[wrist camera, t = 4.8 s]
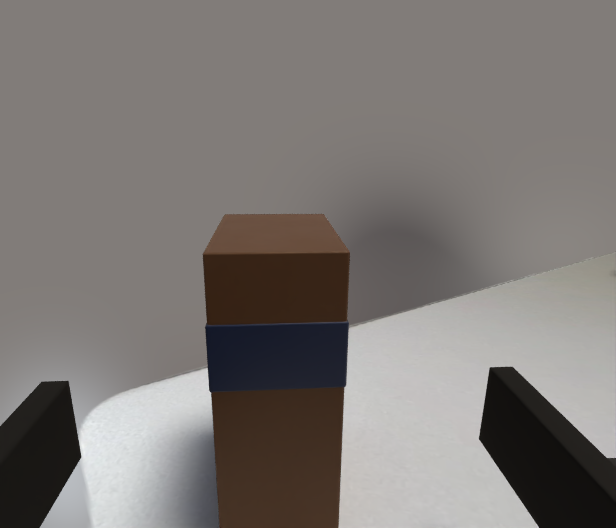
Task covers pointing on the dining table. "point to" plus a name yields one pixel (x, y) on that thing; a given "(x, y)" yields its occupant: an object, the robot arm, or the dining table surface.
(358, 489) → the dining table surface
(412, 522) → the dining table surface
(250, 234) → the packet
